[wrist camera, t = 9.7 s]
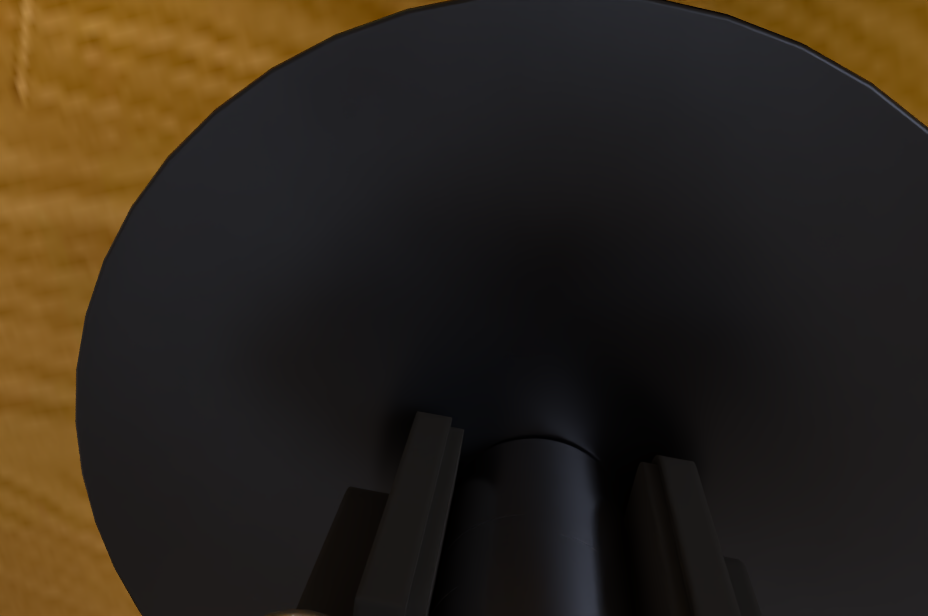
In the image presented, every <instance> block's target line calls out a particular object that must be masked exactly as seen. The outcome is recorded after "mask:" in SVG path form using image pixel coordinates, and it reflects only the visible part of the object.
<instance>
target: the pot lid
mask: <svg viewBox="0 0 928 616" xmlns="http://www.w3.org/2000/svg"><path fill="white" fill-rule="evenodd" d="M417 411H419V412H425V413H430V414H436V415H441V416H447V417H452V423H451V427H454V428H460V429H464V434H463V440H462V446H461V452H460V458H459V464H458V470H457V476H456V482H455V488H454V494H453V499H452V504H451V509H450V513H449V518H448V523H447V528H446V533H445V538H444V543H443V548H442V553H441V558H440V563H439V568H438V573H437V578H436V583H435V588H434V593H433V598H432V603H431V607H430V612H429V616H636V612H635V604H634V597H633V589H632V582H631V574H630V566H629V559H628V551H627V544H626V536H625V529H624V521H623V519H624V516H625V512H626V508H627V505H628V501H629V497H630V494H631V490H632V486H633V483H634V479H635V475H636V472H637V469H638V466H639V464H640V463H641V462H645V463H652V460H653V458H654V457H655V456H656V455H660V456H666V457H671V458H677V459H682V460H688V461H692V462H694V463H695V465H696V467H697V471H698V474H699V477H700V481H701V484H702V487H703V491H704V494H705V497H706V500H707V504H708V507H709V510H710V514H711V517H712V520H713V524H714V527H715V530H716V534H717V537H718V540H719V544H720V547H721V550H722V553H723V556H724V557H729V558H734V559H739V560H740V561H742V562H743V563H744V565H745V567H746V569H747V572H748V575H749V578H750V581H751V584H752V587H753V590H754V593H755V595H756V598H757V601H758V604H759V607H760V610H761V613H762V616H928V127H927V126H925V125H924V124H923V123H922V122H920V121H919V120H918V119H917V118H915V117H914V116H913V115H912V114H910V113H909V112H908V111H907V110H905V109H904V108H903V107H901V106H900V105H899V104H898V103H896V102H895V101H894V100H893V99H891V98H890V97H889V96H888V95H886V94H885V93H884V92H883V91H881V90H880V89H879V88H878V87H876V86H875V85H874V84H873V83H871V82H869V81H868V80H866V79H864V78H862V77H861V76H859V75H857V74H855V73H854V72H852V71H850V70H848V69H847V68H845V67H843V66H841V65H840V64H838V63H836V62H834V61H832V60H831V59H829V58H827V57H825V56H824V55H822V54H820V53H818V52H817V51H815V50H813V49H811V48H810V47H808V46H806V45H804V44H803V43H800V42H797V41H795V40H792V39H790V38H787V37H785V36H782V35H779V34H777V33H774V32H772V31H769V30H766V29H764V28H761V27H759V26H756V25H754V24H751V23H748V22H746V21H743V20H741V19H738V18H736V17H733V16H730V15H728V14H724V13H720V12H715V11H711V10H707V9H702V8H698V7H693V6H689V5H685V4H680V3H676V2H672V1H667V0H450V1H445V2H440V3H435V4H430V5H425V6H420V7H415V8H410V9H406V10H403V11H400V12H397V13H395V14H392V15H389V16H386V17H383V18H380V19H378V20H375V21H372V22H369V23H366V24H364V25H361V26H358V27H355V28H352V29H349V30H347V31H344V32H341V33H338V34H335V35H333V36H332V37H330V38H328V39H326V40H324V41H322V42H320V43H318V44H316V45H314V46H313V47H311V48H309V49H307V50H305V51H303V52H301V53H299V54H297V55H295V56H294V57H292V58H290V59H288V60H286V61H284V62H282V63H280V64H278V65H276V66H275V67H273V68H271V69H269V70H268V71H267V72H265V73H264V74H263V75H261V76H260V77H259V78H257V79H256V80H254V81H253V82H252V83H250V84H249V85H248V86H246V87H245V88H244V89H242V90H241V91H239V92H238V93H237V94H235V95H234V96H233V97H231V98H230V99H229V100H227V101H226V102H225V103H223V104H222V105H220V106H219V107H218V108H216V109H215V110H214V111H213V112H212V113H211V114H210V115H209V116H208V117H207V118H206V119H205V120H204V121H203V122H202V123H201V124H200V125H199V126H198V127H197V128H196V129H195V130H194V131H193V132H192V133H191V134H190V135H189V136H188V137H187V138H186V139H185V140H184V141H183V142H182V143H181V144H180V145H179V146H178V147H177V148H176V149H175V150H174V151H173V152H172V153H171V154H170V155H169V156H168V157H167V159H166V160H165V161H164V163H163V164H162V165H161V167H160V168H159V169H158V171H157V172H156V174H155V175H154V176H153V178H152V179H151V180H150V182H149V183H148V184H147V186H146V187H145V189H144V190H143V191H142V193H141V194H140V195H139V197H138V198H137V199H136V201H135V202H134V204H133V205H132V206H131V208H130V210H129V212H128V214H127V216H126V218H125V220H124V222H123V224H122V226H121V228H120V229H119V231H118V233H117V235H116V237H115V239H114V241H113V243H112V245H111V247H110V249H109V251H108V253H107V255H106V257H105V258H104V261H103V264H102V267H101V270H100V273H99V276H98V279H97V282H96V285H95V288H94V291H93V294H92V297H91V300H90V303H89V306H88V309H87V312H86V316H85V321H84V327H83V333H82V339H81V345H80V351H79V357H78V363H77V369H76V420H75V422H76V430H77V438H78V446H79V454H80V461H81V469H82V475H83V479H84V482H85V486H86V490H87V493H88V497H89V501H90V505H91V508H92V512H93V516H94V519H95V523H96V525H97V527H98V530H99V532H100V535H101V537H102V539H103V542H104V544H105V547H106V549H107V551H108V554H109V556H110V559H111V561H112V563H113V566H114V568H115V570H116V572H117V573H118V575H119V577H120V579H121V580H122V582H123V584H124V586H125V587H126V589H127V591H128V593H129V594H130V596H131V598H132V600H133V601H134V603H135V605H136V607H137V608H138V610H139V612H140V613H141V614H142V616H265V615H267V614H270V613H273V612H278V611H283V610H288V609H296V608H297V606H298V603H299V601H300V598H301V596H302V594H303V591H304V589H305V587H306V584H307V582H308V579H309V577H310V575H311V572H312V570H313V568H314V565H315V563H316V561H317V558H318V556H319V553H320V551H321V549H322V546H323V544H324V542H325V539H326V537H327V534H328V532H329V530H330V527H331V525H332V523H333V520H334V518H335V515H336V513H337V511H338V508H339V506H340V504H341V501H342V499H343V496H344V494H345V492H346V490H347V488H349V487H350V486H351V487H356V488H361V489H367V490H372V491H377V492H383V493H388V494H390V491H391V488H392V485H393V482H394V479H395V476H396V473H397V470H398V467H399V464H400V461H401V458H402V455H403V452H404V449H405V446H406V443H407V440H408V436H409V433H410V430H411V427H412V424H413V421H414V418H415V415H416V413H417Z"/></svg>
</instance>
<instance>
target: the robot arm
mask: <svg viewBox="0 0 928 616" xmlns="http://www.w3.org/2000/svg"><path fill="white" fill-rule="evenodd" d="M451 423H452V417H447V416H441V415H436V414H430V413H425V412H419V411H417V413H416V415H415V418H414V421H413V424H412V427H411V430H410V433H409V436H408V440H407V443H406V446H405V449H404V452H403V455H402V458H401V461H400V464H399V467H398V470H397V473H396V476H395V479H394V482H393V485H392V488H391V491H390V494H388V493H383V492H377V491H372V490H367V489H361V488H356V487H351V486H350V487H349V488H347V490H346V492H345V494H344V496H343V499H342V501H341V504H340V506H339V508H338V511H337V513H336V515H335V518H334V520H333V523H332V525H331V527H330V530H329V532H328V534H327V537H326V539H325V542H324V544H323V546H322V549H321V551H320V553H319V556H318V558H317V561H316V563H315V565H314V568H313V570H312V572H311V575H310V577H309V579H308V582H307V584H306V587H305V589H304V591H303V594H302V596H301V598H300V601H299V603H298V606H297V608H296V609H288V610H283V611H278V612H273V613H270V614H267V615H265V616H429V612H430V607H431V603H432V598H433V593H434V588H435V583H436V578H437V573H438V568H439V563H440V558H441V553H442V548H443V543H444V538H445V533H446V528H447V523H448V518H449V513H450V509H451V504H452V499H453V494H454V488H455V482H456V476H457V470H458V464H459V458H460V452H461V446H462V440H463V434H464V429H460V428H454V427H451ZM623 521H624V529H625V536H626V544H627V551H628V559H629V566H630V574H631V582H632V589H633V597H634V604H635V612H636V616H762V613H761V610H760V607H759V604H758V601H757V598H756V595H755V593H754V590H753V587H752V584H751V581H750V578H749V575H748V572H747V569H746V567H745V565H744V563H743V562H742V561H740V560H739V559H734V558H729V557H724V556H723V553H722V550H721V547H720V544H719V540H718V537H717V534H716V530H715V527H714V524H713V520H712V517H711V514H710V510H709V507H708V504H707V500H706V497H705V494H704V491H703V487H702V484H701V481H700V477H699V474H698V471H697V467H696V465H695V463H694V462H692V461H688V460H682V459H677V458H671V457H666V456H660V455H656V456H655V457H654V458H653V460H652V463H645V462H641V463H640V464H639V466H638V469H637V472H636V475H635V479H634V483H633V486H632V490H631V494H630V497H629V501H628V505H627V508H626V512H625V516H624V519H623Z"/></svg>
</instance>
